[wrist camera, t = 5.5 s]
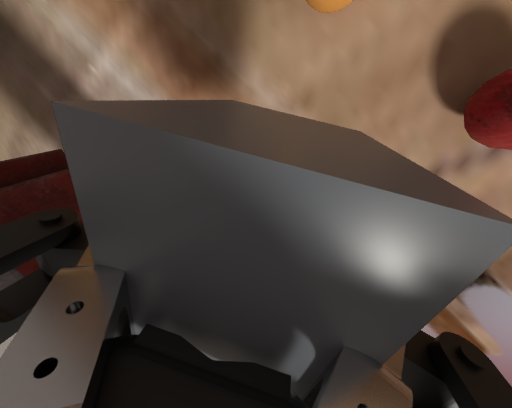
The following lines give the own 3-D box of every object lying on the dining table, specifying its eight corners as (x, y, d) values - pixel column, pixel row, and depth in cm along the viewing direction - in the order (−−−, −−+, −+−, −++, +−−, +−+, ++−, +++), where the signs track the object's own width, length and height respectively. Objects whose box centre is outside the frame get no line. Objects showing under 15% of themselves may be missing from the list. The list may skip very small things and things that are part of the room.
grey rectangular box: (360, 131, 10) (530, 229, 2) (297, 273, 14) (290, 450, 7) (231, 99, 10) (50, 101, 3) (212, 246, 15) (126, 384, 8)
